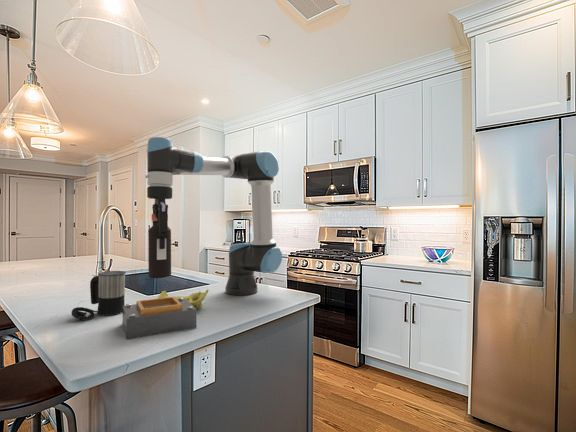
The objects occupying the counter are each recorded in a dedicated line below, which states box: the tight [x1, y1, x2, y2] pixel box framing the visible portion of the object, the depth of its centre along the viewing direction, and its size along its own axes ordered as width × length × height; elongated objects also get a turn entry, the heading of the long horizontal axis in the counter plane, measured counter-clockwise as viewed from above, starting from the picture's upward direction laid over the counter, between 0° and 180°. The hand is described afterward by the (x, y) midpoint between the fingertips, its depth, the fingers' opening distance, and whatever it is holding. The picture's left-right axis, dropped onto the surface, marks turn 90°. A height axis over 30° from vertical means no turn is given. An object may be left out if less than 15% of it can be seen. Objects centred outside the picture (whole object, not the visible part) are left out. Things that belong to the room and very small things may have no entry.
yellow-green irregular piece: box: [156, 288, 209, 310], centre depth 126 cm, size 20×7×10 cm
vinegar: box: [147, 213, 172, 279], centre depth 104 cm, size 7×7×20 cm
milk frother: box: [71, 270, 127, 321], centre depth 116 cm, size 14×16×15 cm
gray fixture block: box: [121, 296, 198, 341], centre depth 104 cm, size 20×16×8 cm
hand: (159, 258), depth 104 cm, fingers closed on vinegar, 6 cm apart
